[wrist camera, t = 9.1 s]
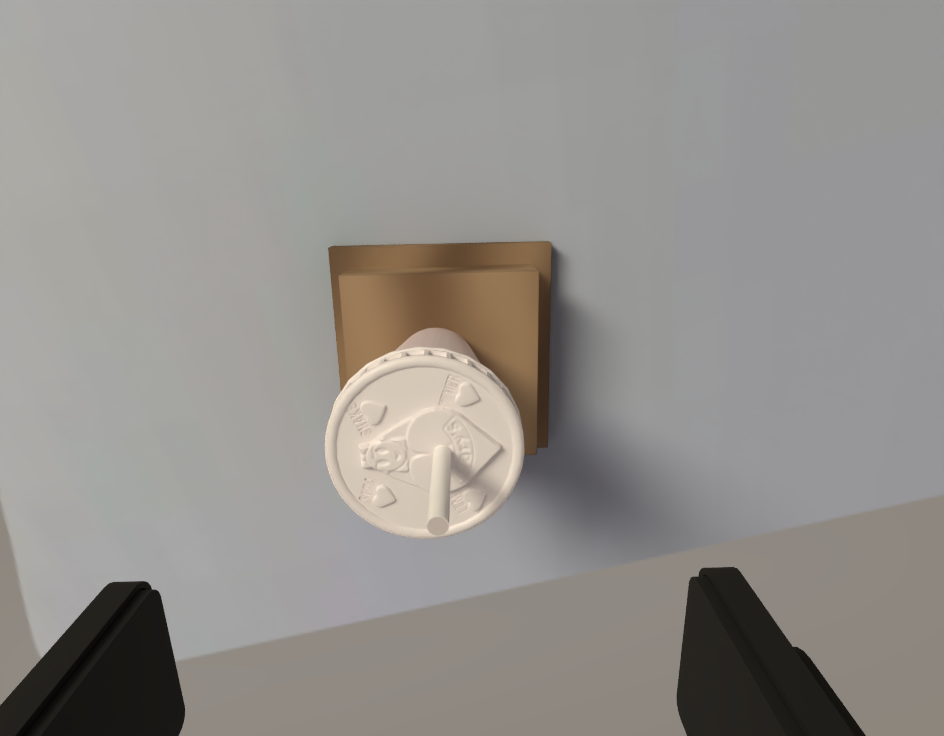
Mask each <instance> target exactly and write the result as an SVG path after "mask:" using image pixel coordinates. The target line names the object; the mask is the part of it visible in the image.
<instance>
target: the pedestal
mask: <svg viewBox="0 0 944 736" xmlns="http://www.w3.org/2000/svg"><path fill="white" fill-rule="evenodd" d="M328 250H329V262H330V273H331V284H332V296H333V307H334V318H335V330H336V341H337V352H338V364H339V375H340V386H341V391H342V390H343V388H344V386H345V385H346V383H347V382H348V380H349V379H350V378H352V377H353V376H354V375H355V374H356V373H357V372H358V371H359V370H361V369H362V368H363V367H364V366H365V365H366V364H367V363H369V362H371V361H373V360H375V359H377V358H379V357H381V356H383V355H385V354H388V353H390V352H393V351H395V350H396V349H397V348H398V347H399V346H401V345H402V344H403V343H404V342H405V341H406V340H407V339H408V338H409V337H411V336H412V335H413V334H415V333H417V332H419V331H421V330H424V329H428V328H443V329H447V330H450V331H453V332H455V333H456V334H458V335H459V336H461V337H462V338H463V339H464V340H465V341H466V342H467V343H468V345H469V346H470V348H471V349H472V351H473V352H474V354H475V355H476V357H477V359H478V360H479V362H480V363H481V364H482V365H484V366H485V367H487V368H488V369H490V370H491V371H492V372H493V373H494V374H495V375H496V376H497V377H498V378H499V380H500V381H501V382H502V383H503V384H504V385H505V386H506V387H507V388H508V390H509V392H510V394H511V396H512V398H513V400H514V402H515V404H516V406H517V408H518V410H519V413H520V418H521V423H522V429H523V434H524V435H523V437H524V455H534V454H537V448H540V447H548V401H549V345H550V290H551V242H549V241H538V242H493V243H448V244H404V245H359V246H331V247H329V248H328Z"/></svg>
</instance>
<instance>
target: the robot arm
mask: <svg viewBox="0 0 944 736" xmlns="http://www.w3.org/2000/svg"><path fill="white" fill-rule="evenodd" d="M677 706H678V711H679V715H680V718H681V721H682V723H683V726H684V728H685V731H686V734H687V736H866V735H865V734H864V733H863V731H862V730H861V729H860V727H859V726H858V724H857V723H856V721H855V720H854V719H853V717H852V716H851V715H850V713H849V712H848V710H847V709H846V708H845V706H844V705H843V703H842V702H841V701H840V699H839V698H838V697H837V695H836V694H835V692H834V691H833V689H832V688H831V687H830V685H829V684H828V683H827V681H826V680H825V678H824V677H823V676H822V674H821V673H820V672H819V670H818V669H817V667H816V666H815V664H814V663H813V662H812V660H811V659H810V658H809V657H808V656H807V654H806V653H805V652H804V651H803V650H801V649H799V648H798V647H792V645H791V644H790V642H789V641H788V639H787V638H786V637H785V635H784V634H783V633H782V631H781V630H780V628H779V627H778V625H777V624H776V623H775V621H774V619H773V618H772V617H771V615H770V614H769V612H768V611H767V610H766V608H765V607H764V605H763V604H762V602H761V601H760V599H759V598H758V597H757V595H756V594H755V592H754V591H753V590H752V588H751V587H750V585H749V584H748V582H747V581H746V580H745V578H744V577H743V575H742V574H741V572H740V571H739V570H738V569H737V568H734V567H723V568H702V569H701V570H700V572H699V576H698V577H691V579H690V581H689V589H688V598H687V606H686V616H685V624H684V634H683V643H682V652H681V661H680V670H679V679H678V688H677ZM184 717H185V705H184V701H183V696H182V692H181V687H180V683H179V678H178V673H177V669H176V665H175V659H174V655H173V650H172V646H171V641H170V636H169V632H168V627H167V623H166V618H165V613H164V609H163V604H162V600H161V596H160V593H159V592H158V591H157V590H152V588H151V586H150V585H149V583H148V582H144V581H136V582H112V583H109V584H108V585H107V586H106V587H104V588H103V590H102V591H101V592H100V593H99V594H98V595H97V596H96V598H95V599H94V600H93V601H92V602H91V603H90V604H89V606H88V607H87V608H86V609H85V610H84V611H83V612H82V613H81V615H80V616H79V617H78V618H77V619H76V620H75V621H74V623H73V624H72V625H71V626H70V627H69V628H68V629H67V630H66V632H65V633H64V634H63V635H62V636H61V637H60V638H59V640H58V641H57V642H56V643H55V644H54V645H53V646H52V647H51V649H50V650H49V651H48V652H47V653H46V654H45V655H44V657H43V658H42V659H41V660H40V661H39V662H38V663H37V665H36V666H35V667H34V668H33V669H32V670H31V671H30V672H29V674H28V675H27V676H26V677H25V678H24V679H23V680H22V682H21V683H20V684H19V685H18V686H17V687H16V688H15V690H14V691H13V692H12V693H11V694H10V695H9V696H8V698H7V699H6V700H5V701H4V702H3V703H2V704H1V705H0V736H179V733H180V731H181V729H182V726H183V723H184Z"/></svg>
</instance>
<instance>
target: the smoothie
mask: <svg viewBox="0 0 944 736" xmlns="http://www.w3.org/2000/svg"><path fill="white" fill-rule="evenodd" d="M523 435H524V434H523V429H522V423H521V418H520V413H519V410H518V408H517V406H516V404H515V402H514V400H513V398H512V396H511V394H510V392H509V390H508V388H507V387H506V386H505V385H504V384H503V383H502V382H501V381H500V380H499V378H498V377H497V376H496V375H495V374H494V373H493V372H492V371H491V370H490V369H488V368H487V367H485V366H484V365H482V364H481V363H480V362H479V360H478V359H477V357H476V355H475V354H474V352H473V351H472V349H471V348H470V346H469V345H468V343H467V342H466V341H465V340H464V339H463V338H462V337H461V336H459V335H458V334H456V333H455V332H453V331H450V330H447V329H443V328H428V329H424V330H421V331H419V332H417V333H415V334H413V335H412V336H411V337H409V338H408V339H407V340H406V341H405V342H404V343H403V344H402V345H401V346H399V347H398V348H397V349H396V350H395V351H393V352H390V353H388V354H385V355H383V356H381V357H379V358H377V359H375V360H373V361H371V362H369V363H367V364H366V365H365V366H364V367H363V368H362V369H361V370H359V371H358V372H357V373H356V374H355V375H354V376H353V377H352V378H350V379H349V380H348V382H347V383H346V385H345V386H344V388H343V390H342V391H341V393H340V394H339V396H338V397H337V399H336V401H335V403H334V407H333V410H332V413H331V416H330V418H329V421H328V425H327V429H326V436H325V457H326V463H327V467H328V471H329V474H330V477H331V479H332V481H333V484H334V485H335V487H336V489H337V491H338V493H339V494H340V495H341V497H342V498H343V500H344V501H345V502H346V503H347V504H348V506H349V507H350V508H351V509H352V510H353V511H355V512H356V513H357V514H358V515H359V516H360V517H362V518H363V519H364V520H366V521H367V522H369V523H370V524H372V525H374V526H376V527H378V528H380V529H382V530H384V531H387V532H390V533H393V534H396V535H400V536H404V537H410V538H419V539H434V538H442V537H447V536H452V535H456V534H459V533H462V532H464V531H467V530H469V529H471V528H473V527H475V526H477V525H479V524H481V523H482V522H484V521H485V520H487V519H488V518H489V517H491V516H492V515H493V514H494V513H495V512H496V511H497V510H498V509H499V508H500V507H501V506H502V505H503V504H504V503H505V502H506V500H507V499H508V498H509V496H510V495H511V493H512V491H513V490H514V488H515V486H516V484H517V481H518V479H519V476H520V473H521V470H522V465H523V460H524V437H523Z"/></svg>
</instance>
